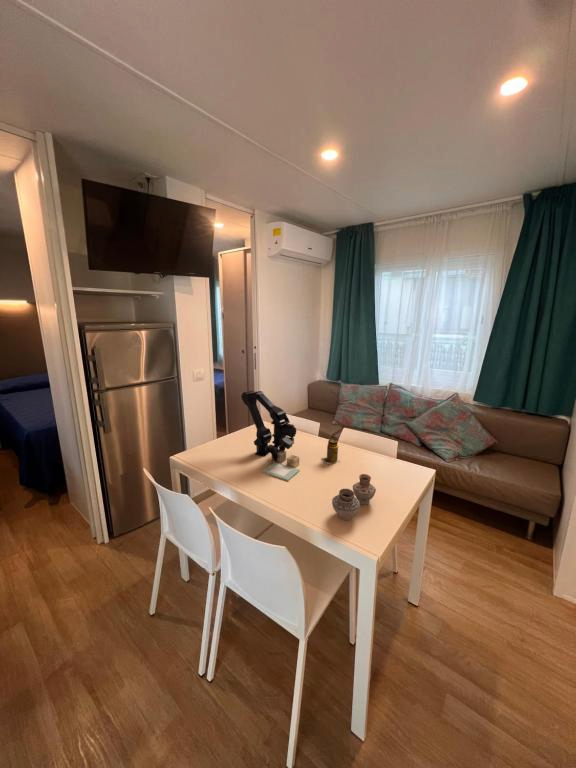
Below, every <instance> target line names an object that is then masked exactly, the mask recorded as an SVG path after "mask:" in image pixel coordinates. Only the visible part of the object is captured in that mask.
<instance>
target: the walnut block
mask: <svg viewBox="0 0 576 768" xmlns="http://www.w3.org/2000/svg"><path fill="white" fill-rule="evenodd" d="M278 450H279V452H278V454H277V461H275V460H274V458H273V456H272V454H271V453H270V454H271V456H270V458H271V460H270V461H271V462H273V463H274V462H277V463H280V464H283V462H285V461H287V451H286V450H285V451H283V450H280V449H279V448H278Z"/></svg>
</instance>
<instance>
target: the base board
mask: <svg viewBox="0 0 576 768" xmlns="http://www.w3.org/2000/svg"><path fill="white" fill-rule="evenodd" d="M299 472H301V469H299V468H297V467H296V468H293V467H290V466H287V464H283V463H277V462H274V461H273V462H272V463H271V464H269V466H267V467H266V468H264V469H262V471H261V473H263V474H265V475H269V476H272V477H275V478H277V479H280V480H283V481H286V482H290V480H291V479H292V478H294V477H295V476H297V474H298V473H299Z"/></svg>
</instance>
